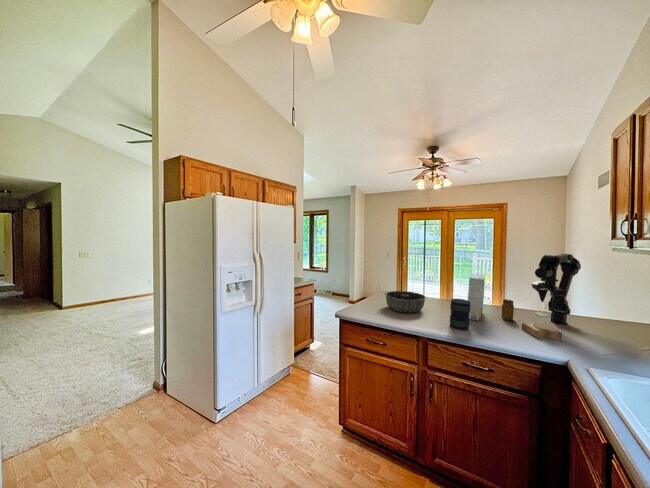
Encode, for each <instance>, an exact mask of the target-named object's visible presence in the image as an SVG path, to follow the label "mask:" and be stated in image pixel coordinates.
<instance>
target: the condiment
mask: <svg viewBox="0 0 650 488" xmlns="http://www.w3.org/2000/svg"><path fill="white" fill-rule="evenodd" d="M514 310H515V306H514V301H513V300H512V299H507V298H506V299H505V298H504V299H502V303H501V315H500V316H501V317H499V318H498V319H499V320H502V321H507V322H511V323H512V322H513V323H517V322H519V319H516V318H514Z"/></svg>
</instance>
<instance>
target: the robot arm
mask: <svg viewBox="0 0 650 488" xmlns="http://www.w3.org/2000/svg"><path fill="white" fill-rule="evenodd" d="M559 266H560V270H561V272H562V275H561V278H560V281H559V279H557V273H558V269H559ZM581 268H582V265H581V262H580V261H579V260H578V259H577V258H576V257H574V255H573V254H571V253H570V254H569V253H560V254H556V255H551V254H544V255H543V256H541V259H540V261H539V264H538V268H536V269H535V270H534V274H535V276H536V277H537V278H539V279H540V280H537V281H533V282H531V283H530V284H531V287H532V289H534V290H535V291H536V292H537V293H538V296H539V299H540V302H542V303H543V302H545V300H546V297H547V294H548V292H549V296H550V299H549V301H548V304H547V305H548V311H549V312H551V313H550V316H551V321H550V322H552V323H554V324H558V325H569V323H568V322H567V317H568V316H570V315H571V308H570V306H569V302H568V299H567V296H568V293H569V290H570V286H571V284H572V281H573V278H574V276H575V275H577V274H578V273H579V272H580V270H581ZM557 282H559V283H558V286H557Z"/></svg>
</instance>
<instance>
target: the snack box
mask: <svg viewBox="0 0 650 488" xmlns="http://www.w3.org/2000/svg"><path fill="white" fill-rule="evenodd" d="M468 279H469V280H468V290H467V292H468V293H467V300H468V301H470V312H469V320H472V321H477V322H481V321H482V316H483V309H484V301H485V300H484V299H485V297H484V296H485V285H486V284H485V282H486V281H485V274H478V273H471V274H470V276H469V278H468Z"/></svg>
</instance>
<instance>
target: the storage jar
mask: <svg viewBox="0 0 650 488" xmlns="http://www.w3.org/2000/svg"><path fill="white" fill-rule="evenodd" d="M449 308H450V315H449V327H450V328H451V327H452V329H454V328H455V329H454V330H457V329H458V331H469V330H470V321H471V319H469V312H470V301H468V299H463V298H452V299H450V307H449Z"/></svg>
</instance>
